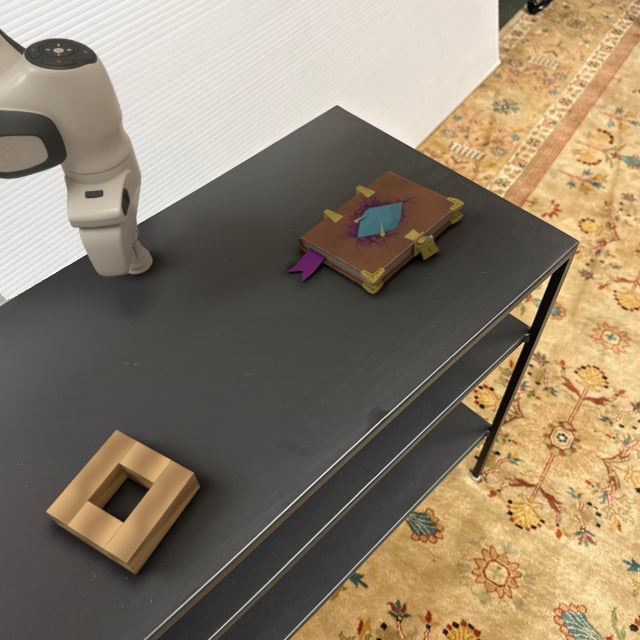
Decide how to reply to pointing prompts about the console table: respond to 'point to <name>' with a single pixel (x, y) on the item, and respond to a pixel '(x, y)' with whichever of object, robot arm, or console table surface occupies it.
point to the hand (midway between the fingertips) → (132, 250)
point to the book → (378, 231)
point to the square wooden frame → (149, 515)
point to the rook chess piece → (140, 257)
